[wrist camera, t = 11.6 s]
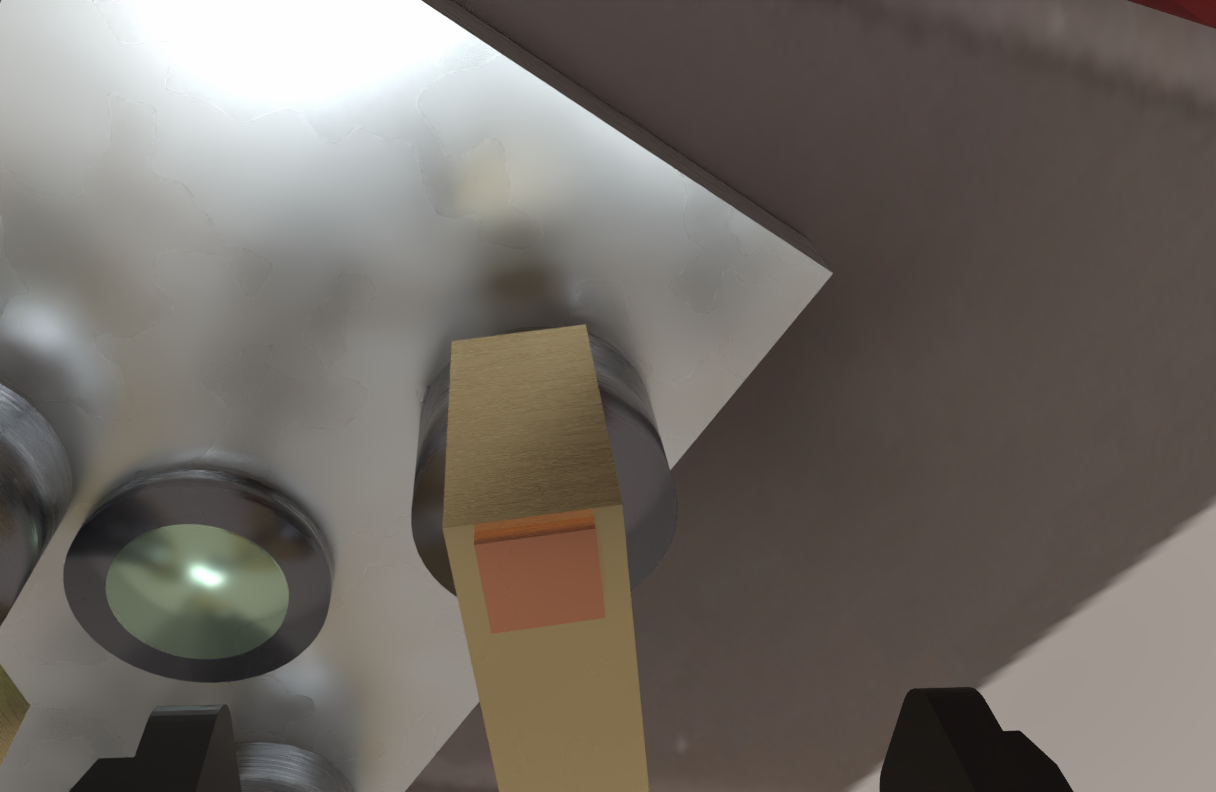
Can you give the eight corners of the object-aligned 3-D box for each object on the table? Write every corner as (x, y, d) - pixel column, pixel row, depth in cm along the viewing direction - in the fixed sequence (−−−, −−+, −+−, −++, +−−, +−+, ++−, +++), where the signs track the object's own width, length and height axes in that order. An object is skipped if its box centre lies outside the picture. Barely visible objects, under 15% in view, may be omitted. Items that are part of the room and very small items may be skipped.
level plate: (295, 877, 25) (280, 965, 23) (-251, 723, 20) (-325, 817, 19) (806, 238, 17) (846, 291, 16) (125, -219, 13) (65, -222, 11)
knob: (662, 557, 19) (742, 886, 13) (451, 586, 19) (440, 932, 13) (640, 243, 16) (735, 502, 10) (384, 274, 15) (327, 556, 10)
